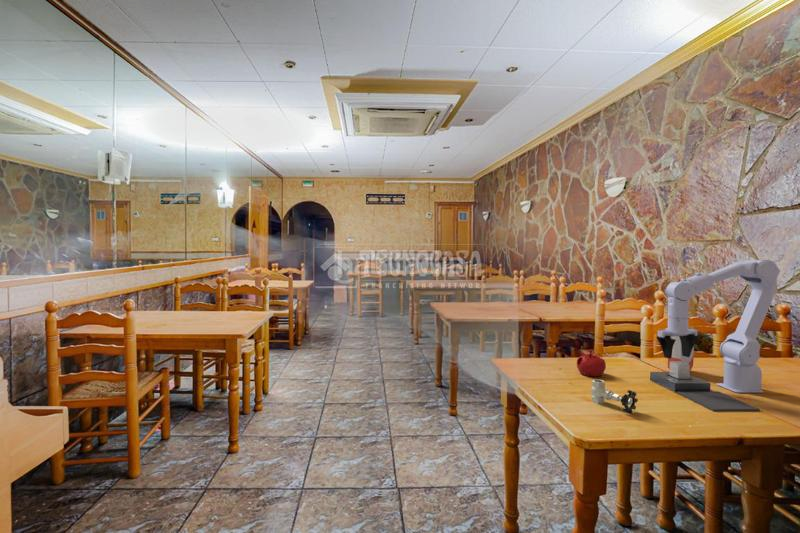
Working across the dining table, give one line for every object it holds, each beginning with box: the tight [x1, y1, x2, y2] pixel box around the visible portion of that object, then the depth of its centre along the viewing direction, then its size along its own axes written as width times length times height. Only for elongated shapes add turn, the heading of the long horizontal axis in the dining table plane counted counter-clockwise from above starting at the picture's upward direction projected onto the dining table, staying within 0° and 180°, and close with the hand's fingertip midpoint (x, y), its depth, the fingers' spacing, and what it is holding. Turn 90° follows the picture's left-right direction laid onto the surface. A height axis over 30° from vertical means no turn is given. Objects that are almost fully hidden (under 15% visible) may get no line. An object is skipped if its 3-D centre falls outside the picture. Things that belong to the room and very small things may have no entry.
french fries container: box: [667, 325, 695, 372], centre depth 149 cm, size 5×11×18 cm, turn 122°
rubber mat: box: [676, 391, 760, 412], centre depth 120 cm, size 14×14×1 cm
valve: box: [590, 378, 639, 415], centre depth 116 cm, size 7×7×12 cm
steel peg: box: [668, 361, 691, 380], centre depth 134 cm, size 4×4×8 cm
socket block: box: [649, 371, 711, 393], centre depth 134 cm, size 12×12×3 cm
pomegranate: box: [576, 349, 607, 378], centre depth 146 cm, size 10×10×9 cm
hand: (676, 357), depth 133 cm, fingers open, 7 cm apart
